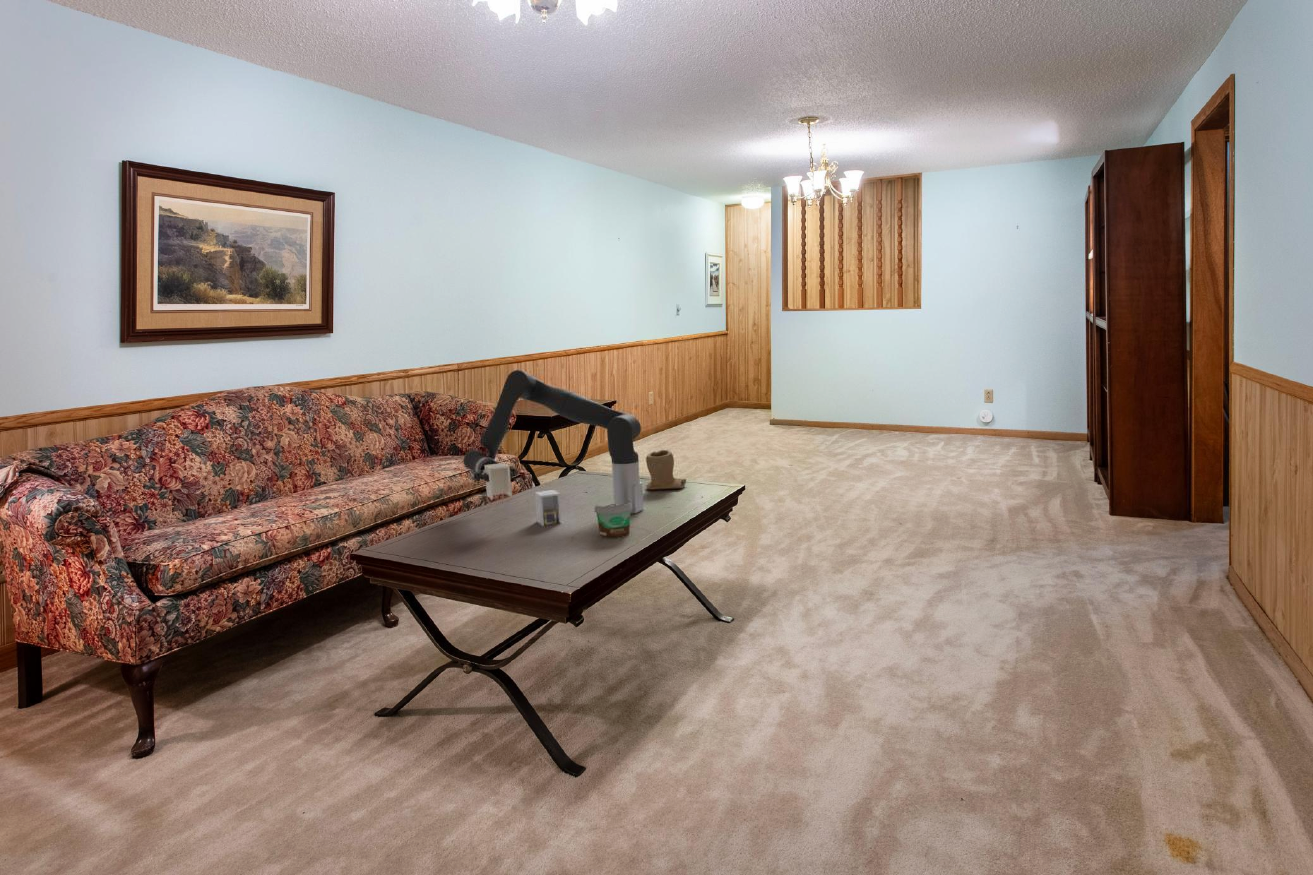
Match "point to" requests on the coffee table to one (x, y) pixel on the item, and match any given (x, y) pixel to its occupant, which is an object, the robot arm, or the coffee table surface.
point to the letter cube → (549, 516)
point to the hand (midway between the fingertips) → (499, 477)
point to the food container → (614, 520)
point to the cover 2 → (547, 504)
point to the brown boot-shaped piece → (662, 471)
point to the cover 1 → (498, 479)
